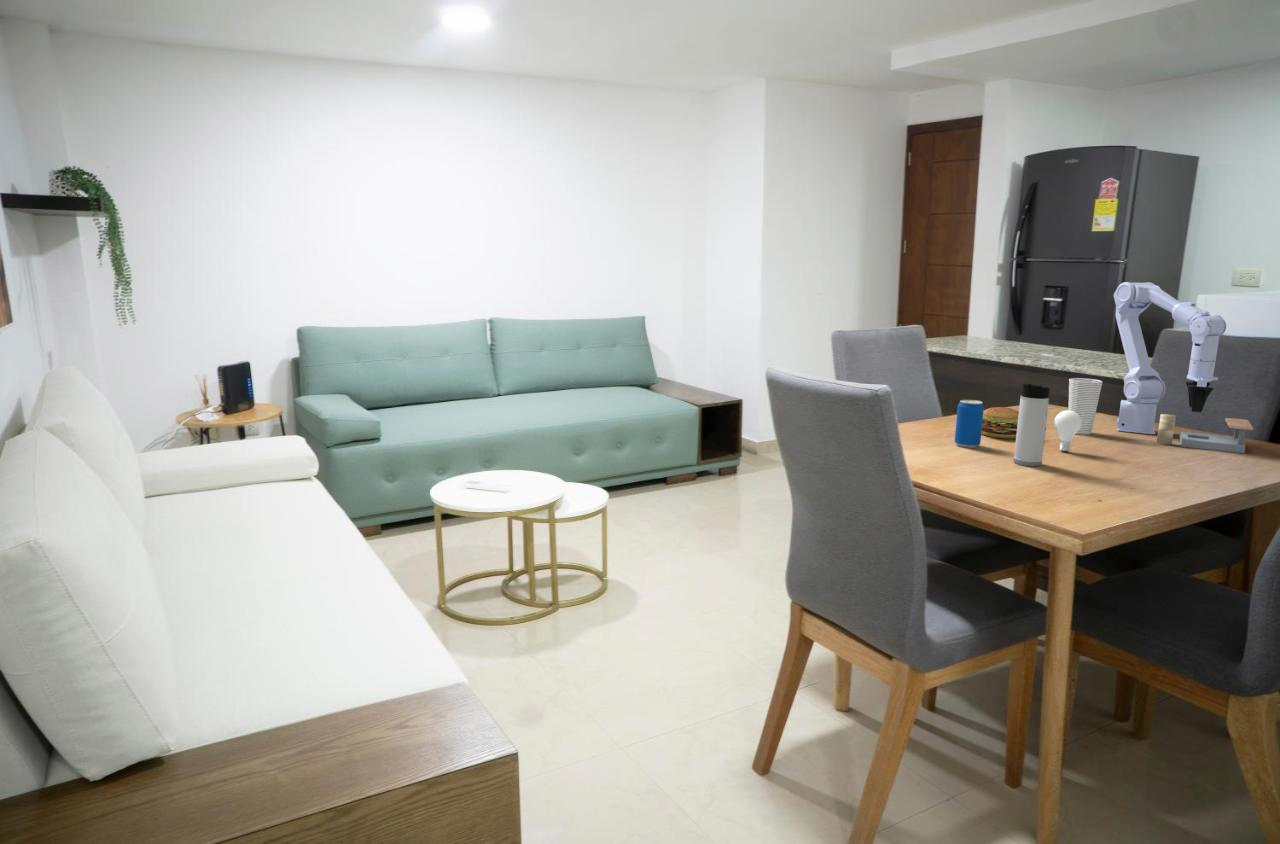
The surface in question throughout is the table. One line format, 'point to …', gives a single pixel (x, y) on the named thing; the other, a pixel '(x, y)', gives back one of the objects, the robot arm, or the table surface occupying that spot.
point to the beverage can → (969, 423)
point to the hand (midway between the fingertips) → (1195, 409)
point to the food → (1000, 423)
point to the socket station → (1219, 438)
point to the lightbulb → (1067, 428)
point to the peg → (1166, 429)
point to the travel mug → (1031, 425)
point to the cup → (1084, 401)
